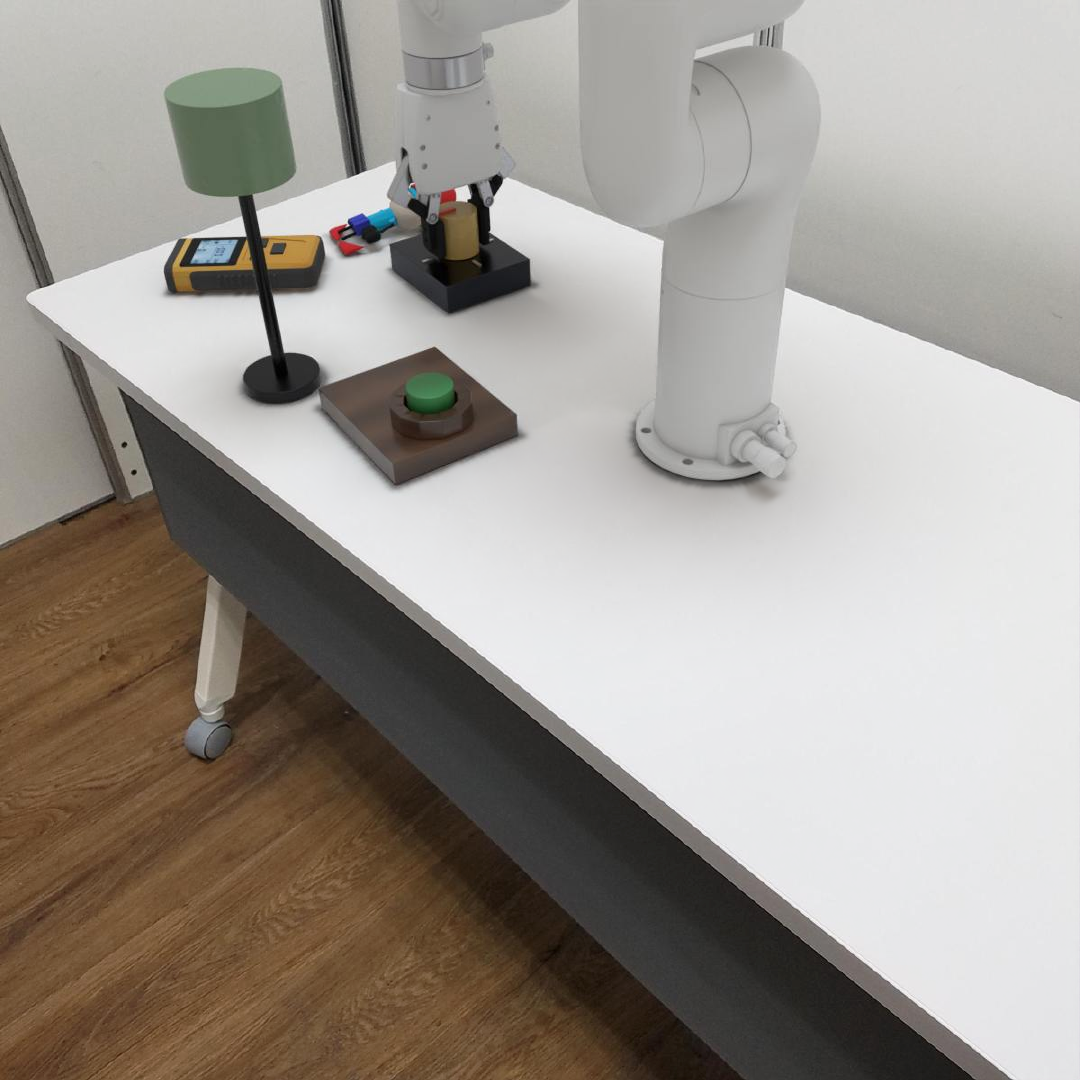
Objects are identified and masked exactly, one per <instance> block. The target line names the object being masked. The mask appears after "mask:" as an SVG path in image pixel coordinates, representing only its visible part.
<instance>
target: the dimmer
mask: <svg viewBox="0 0 1080 1080" xmlns="http://www.w3.org/2000/svg"><path fill="white" fill-rule="evenodd" d="M439 220H441V221H442V222H443V223H444V229H445V241H446V252H447V256H446V257H445V259H448V260H464V259H468V258H471V257H474V256H475V255H477V254H478V252H479V234H478V219H477V208H476V206H475V205H473V204H471V203H468V202H467V201H463V200H456V201H452V202H446V203H443V204H440V209H439Z"/></svg>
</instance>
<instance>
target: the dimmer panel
mask: <svg viewBox="0 0 1080 1080" xmlns="http://www.w3.org/2000/svg"><path fill="white" fill-rule="evenodd" d="M489 241H490V243H489V244H487V245H482V244H480V243H479V252H478V254H477V255H475V256H474V257H471V258H468V259H464V260H448V259H445V258H444V259H439V258H437V257H436V256H435V255H433V254H432V253H431V252H429V251H428V250H427V249H426V248H425V246H424V244H423V237H422V233H420V234H417V235H414V236H410V237H407V238H404V239H401V240H398V241H394V242H391V243H389V244H388V245H389V253H390V261H391V262H390V263H391V270H392V271H393V272H395V273H396V274H397V275H398V276H399V277H401V278H402V279H404V280H405V281H406V282H407V283H409V284H410V285H412V287H414V288H416V290H418V291H419V292H420V293H421V294H423V295H424V296H425V297H427V298H428V299H429V300H431V301H432V302H433V303H434V304H436V305H437V306H438V307H440V308H441V309H442V310H443V311H445V312H446V313H447V314H451V313H455V312H457V311H460V310H464V309H467V308H469V307H472V306H475V305H478V304H480V303H485V302H486V301H489V300H493V299H496V298H498V297H501V296H504V295H507V294H510V293H513V292H516V291H519V290H522V289H524V288H527V287H530V286H532V284H531V283H532V280H531V275H532V274H531V259H530V257H528V256H526V255H524V254H523V253H522V252H520V251H518V250H517V249H516V248H513V246H511V245H509V244H508V243H506V242H505V241H504V240H502V239H500V238H498V237H497V236H495V235H494V234H492V233H491V231H490V232H489Z"/></svg>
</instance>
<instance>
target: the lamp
mask: <svg viewBox="0 0 1080 1080" xmlns="http://www.w3.org/2000/svg"><path fill="white" fill-rule="evenodd" d="M163 98H164V102H165V105H166V109H167V114H168V119H169V122H170V127H171V131H172V135H173V138H174V139H173V140H174V144H175V148H176V151H177V156H178V160H179V164H180V168H181V172H182V173H181V174H182V177H183V181H184V184H185V185H186V187H187V188H188V189H189V190H191V191H192V192H195V193H197V194H200V195H203V196H209V197H216V198H234V197H237V199H238V204H239V208H240V212H241V217H242V222H243V227H244V232H245V237H247V242H248V247H249V252H250V256H251V261H252V266H253V271H254V276H255V280H256V285H257V290H256V291H257V294H258V300H259V303H260V308H261V314H262V318H263V323H264V328H265V333H266V337H267V342H268V347H269V351H270V352H269V353H270V354H269V355H266V356H263V357H261V358H258V359H257V360H254V362H251V363H250V364H249V365H248V366H247V367H246V368H245V370H244V372H243V375H242V381H243V385H244V390H245V392H246V394H247V395H248V396H249V397H250V398H251V399H253V400H255V401H256V402H260V403H263V404H269V405H270V404H271V405H276V404H277V405H278V404H279V405H280V404H287V403H288V404H289V403H293V402H296V401H300V400H301V399H304V398H307V397H309V396H310V395H312V394H313V393H314V392H315V391H317V389H318V388H320V385H321V383H322V373H321V368H320V364H319V362H318V361H317V360H316V359H315V358H314V357H312V356H310V355H308V354H304V353H300V352H285V349H284V345H283V340H282V335H281V330H280V329H281V328H280V325H279V324H280V323H279V320H278V314H277V309H276V305H275V300H274V293H273V289H271V284H270V279H269V274H268V269H267V264H266V259H265V254H264V249H263V244H262V239H261V236H262V235H261V229H260V224H259V219H258V215H257V208H256V205H255V198H254V195H257V194H261V193H264V192H268V191H271V190H274V189H276V188H278V187H280V186H282V185H285V184H286V183H288V182H289V181H290V180H291V179H292V178H293V177H295V175H296V173H297V161H296V156H295V151H294V145H293V139H292V138H293V137H292V132H291V128H290V121H289V115H288V109H287V104H286V103H287V102H286V97H285V92H284V87H283V81H282V78H281V77H280V76H279V75H278V74H276V73H274V72H272V71H270V70H266V69H261V68H253V67H225V68H224V67H223V68H215V69H207V70H203V71H199V72H195V73H191V74H188V75H185V76H183V77H181V78H178V79H176V80H175V81H172V82H171V83H169V84H168V85H167V86H166V87H165V88H164V90H163Z"/></svg>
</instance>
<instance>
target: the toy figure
mask: <svg viewBox="0 0 1080 1080" xmlns="http://www.w3.org/2000/svg"><path fill="white" fill-rule="evenodd" d="M407 192H408V194H409V195H411V196H413V197H414V198H416V194H417V191H416V187H415V183H411V184H410V186H409V188H408V191H407ZM457 196H458V195H457V192H456V189H452V190H449V191H445V192H442V193H441V201H440V204H443V203H446V202H452V201H457ZM397 226H398V227H399V228H401V229H404V230H408V231H409V230H415V229H418V228H419V227H420V228H422V227H421V217H420V216H418V215H417V214H416V213H414V212H413V211H411V210H409V209H407V208H405V207H403V206H400V205H398V204H396V203H394V202H393V201H391V200H390V201H389V205H388V207H387V208H384V209H380V210H379V211H377V212H374V213H372V214H370V215H367V216H366V215H365V213H362V212H361V213H359V214H357V215H355V216H352V217H350V218H348V219H347V223H344V224H341V225H337V226H334V227H332V228H331V229H330V230H329V231H328V233H329V235H330V236H331V238H332V240H334V241H336V242H337V241H338V242H337V244H338V247H339V249H340V250H341V252H342V253H343V254H344V255H345V256H348V255H353V254H355V253H356V252H358V251H360V250H362V249H364V248H365V245H358V244H355V243H351V242H348V241H346V240H347V239H348V240H349V239H351V238H353V237H355V236H357V237H358V238H360V237H361V239H362V240H363V241H365V242H366V243H367V244H368V245H372V244H374V243H377V242H379V241H380V240H381V239H382V234H384V233H385V232H387V231H388V230H390V229H393V228H396V227H397ZM349 230H351V231H352V232H350V233H348V234H346V235H343V233H345V232H347V231H349ZM342 235H343V236H342Z"/></svg>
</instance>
